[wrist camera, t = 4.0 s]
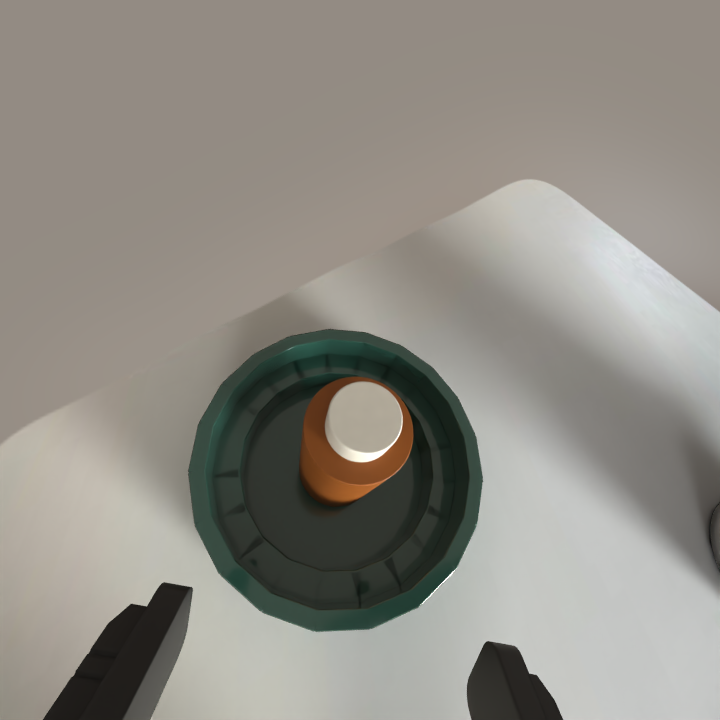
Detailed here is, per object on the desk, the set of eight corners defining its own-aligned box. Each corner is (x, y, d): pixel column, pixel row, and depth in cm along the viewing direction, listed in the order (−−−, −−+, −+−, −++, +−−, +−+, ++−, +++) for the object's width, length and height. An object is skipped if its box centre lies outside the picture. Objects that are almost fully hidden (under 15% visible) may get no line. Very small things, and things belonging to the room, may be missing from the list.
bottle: (373, 431, 24) (419, 365, 15) (374, 507, 22) (430, 480, 13) (301, 428, 23) (308, 357, 15) (296, 506, 21) (299, 478, 12)
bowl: (437, 369, 28) (460, 340, 24) (465, 609, 21) (506, 623, 17) (231, 354, 26) (220, 319, 22) (181, 619, 18) (151, 639, 14)
